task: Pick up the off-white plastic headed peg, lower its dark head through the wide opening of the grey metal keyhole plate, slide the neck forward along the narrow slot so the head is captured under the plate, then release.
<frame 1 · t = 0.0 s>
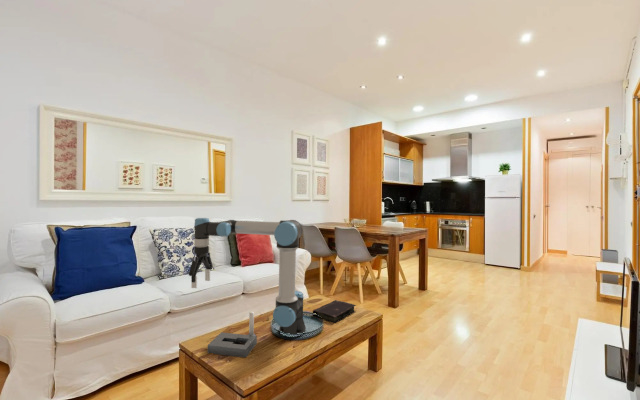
hand: (201, 284, 169), 28 cm above the table, fingers open, 13 cm apart
diary: (334, 314, 202), on the table
peg: (251, 338, 166), on the table
keyhole plate: (232, 348, 155), on the table
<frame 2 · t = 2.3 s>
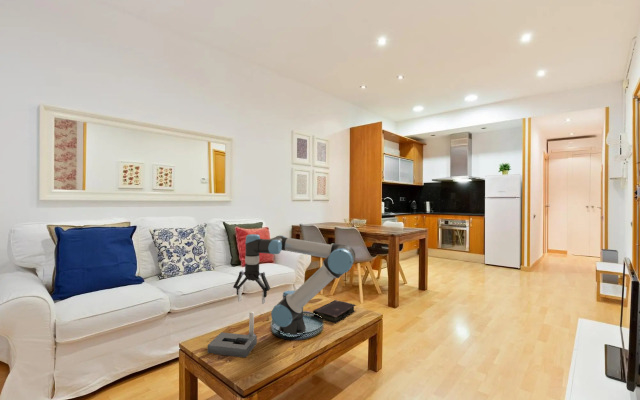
hand: (251, 302, 166), 20 cm above the table, fingers open, 13 cm apart
nothing on the table moved.
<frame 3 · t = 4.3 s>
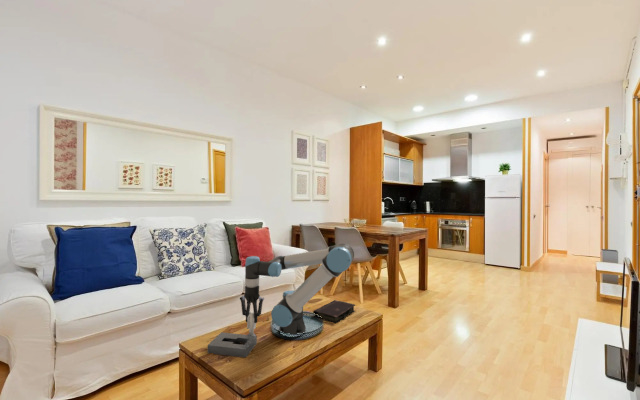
hand: (251, 328, 166), 6 cm above the table, fingers closed on peg, 2 cm apart
peg: (251, 338, 166), on the table, touching gripper
everything else where it was.
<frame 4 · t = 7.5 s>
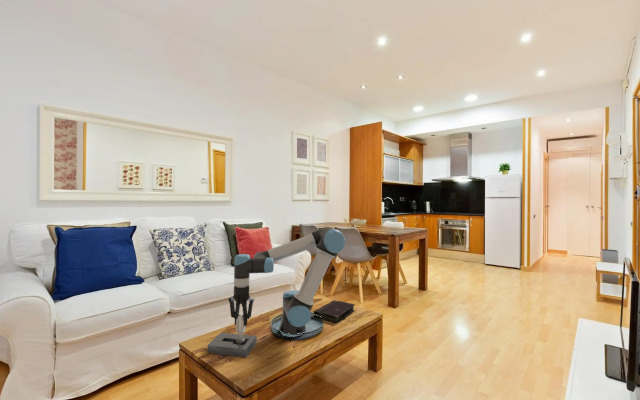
hand: (240, 331, 154), 9 cm above the table, fingers closed on peg, 2 cm apart
peg: (240, 342, 155), point 4 cm above the table, touching gripper
everything else where it was.
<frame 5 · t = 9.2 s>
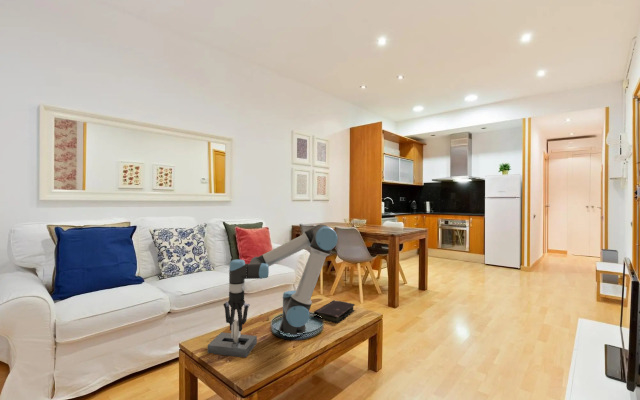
hand: (235, 336, 155), 6 cm above the table, fingers closed on peg, 2 cm apart
peg: (235, 347, 155), point 1 cm above the table, touching gripper
everything else where it was.
when the fingers open (6 cm above the table, at t = 10.8 s): peg stays where it is, resting in keyhole plate.
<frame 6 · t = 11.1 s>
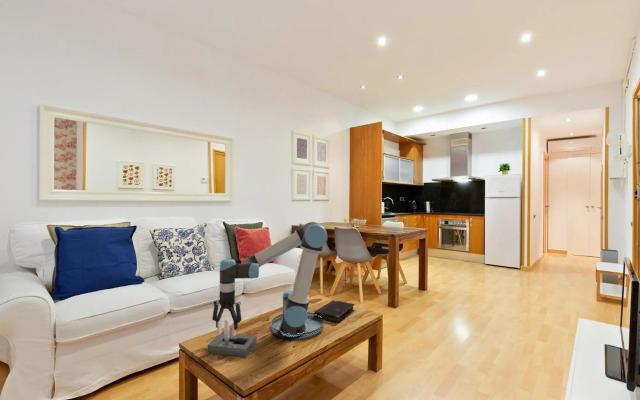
hand: (226, 334, 156), 7 cm above the table, fingers open, 7 cm apart
peg: (226, 347, 156), resting in keyhole plate
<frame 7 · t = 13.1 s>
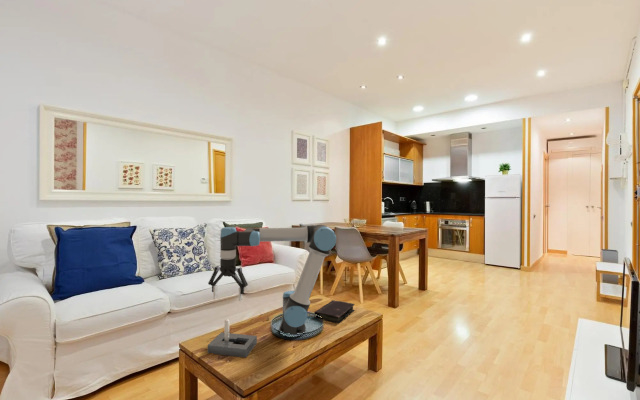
hand: (227, 299, 156), 25 cm above the table, fingers open, 13 cm apart
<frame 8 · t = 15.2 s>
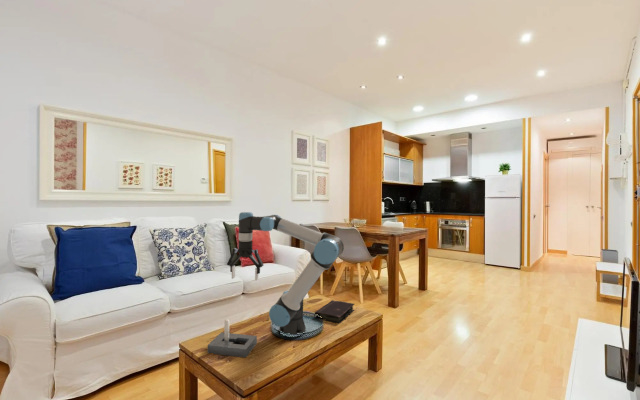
hand: (244, 278, 168), 32 cm above the table, fingers open, 13 cm apart
at the end: peg 0.2 cm from the target spot on the keyhole plate, point 0.0 cm above the keyhole plate's base; peg tilted 0°; the gripper is holding nothing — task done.
